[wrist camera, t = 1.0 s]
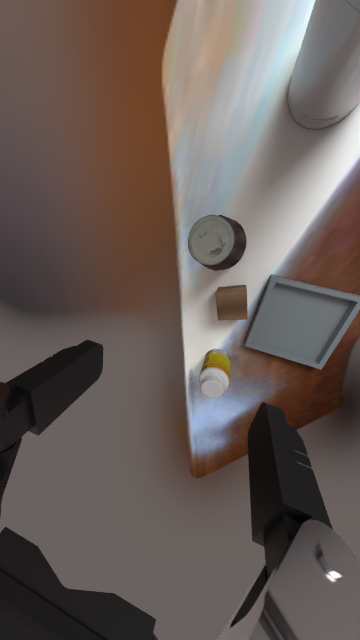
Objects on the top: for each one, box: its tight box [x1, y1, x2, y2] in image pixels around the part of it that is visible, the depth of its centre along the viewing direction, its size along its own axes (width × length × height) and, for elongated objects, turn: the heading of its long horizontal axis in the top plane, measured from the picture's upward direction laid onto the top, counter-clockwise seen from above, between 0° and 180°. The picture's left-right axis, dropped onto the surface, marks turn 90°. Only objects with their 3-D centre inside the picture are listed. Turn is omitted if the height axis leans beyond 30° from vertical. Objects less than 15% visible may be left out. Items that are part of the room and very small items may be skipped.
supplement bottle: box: [199, 349, 231, 398], centre depth 38 cm, size 6×6×10 cm
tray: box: [245, 275, 360, 369], centre depth 34 cm, size 14×14×2 cm
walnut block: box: [216, 285, 248, 320], centre depth 35 cm, size 5×5×5 cm
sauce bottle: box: [188, 215, 246, 271], centre depth 25 cm, size 6×6×20 cm
